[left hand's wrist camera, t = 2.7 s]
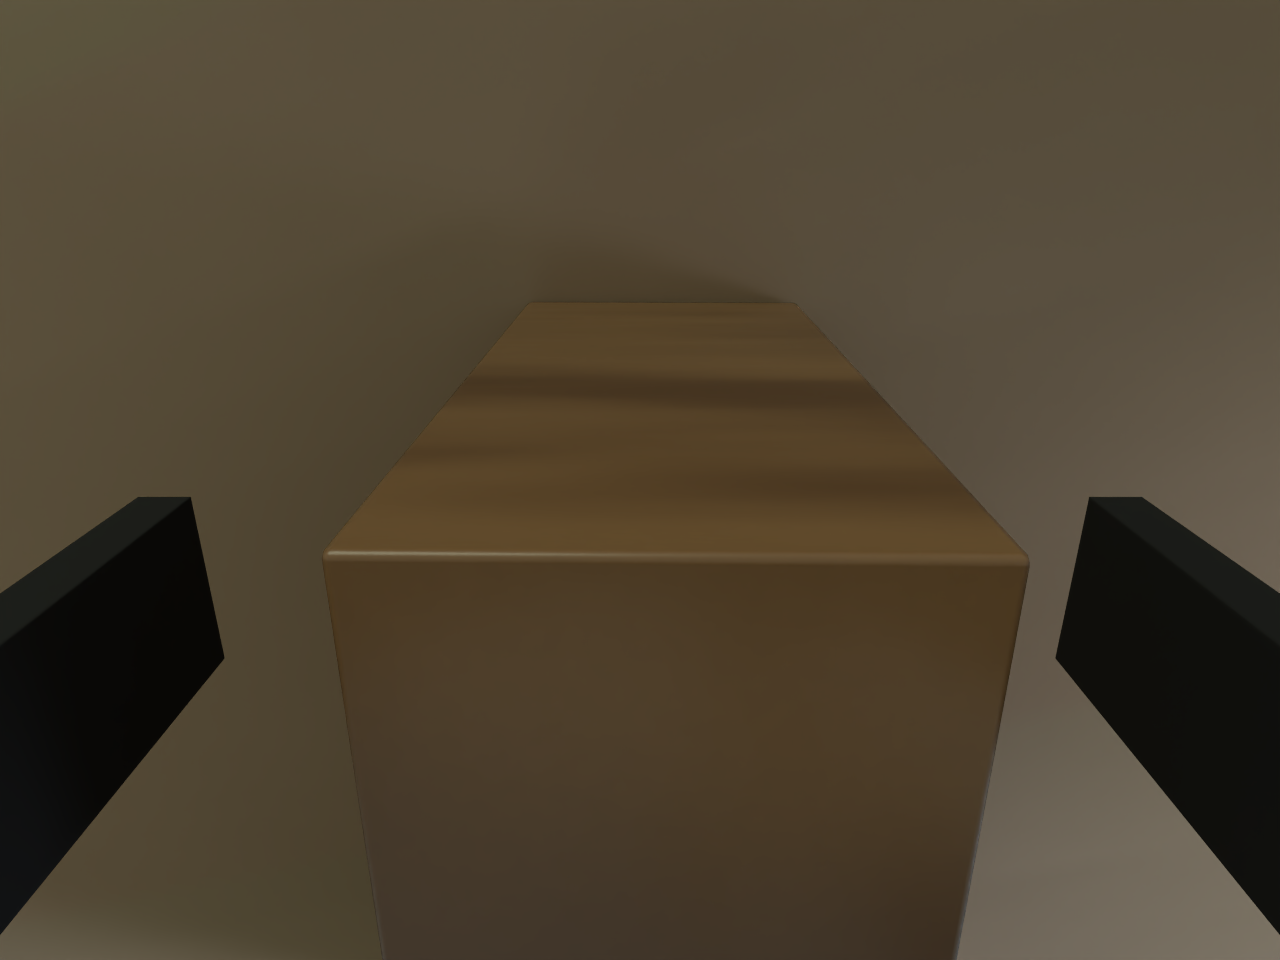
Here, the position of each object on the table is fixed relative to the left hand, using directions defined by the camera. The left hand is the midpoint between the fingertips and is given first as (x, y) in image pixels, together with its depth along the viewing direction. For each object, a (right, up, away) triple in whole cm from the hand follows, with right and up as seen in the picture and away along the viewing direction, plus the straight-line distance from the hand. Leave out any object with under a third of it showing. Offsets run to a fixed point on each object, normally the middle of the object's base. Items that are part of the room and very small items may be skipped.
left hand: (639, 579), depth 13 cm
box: (0, -5, +10) cm, 11 cm away
